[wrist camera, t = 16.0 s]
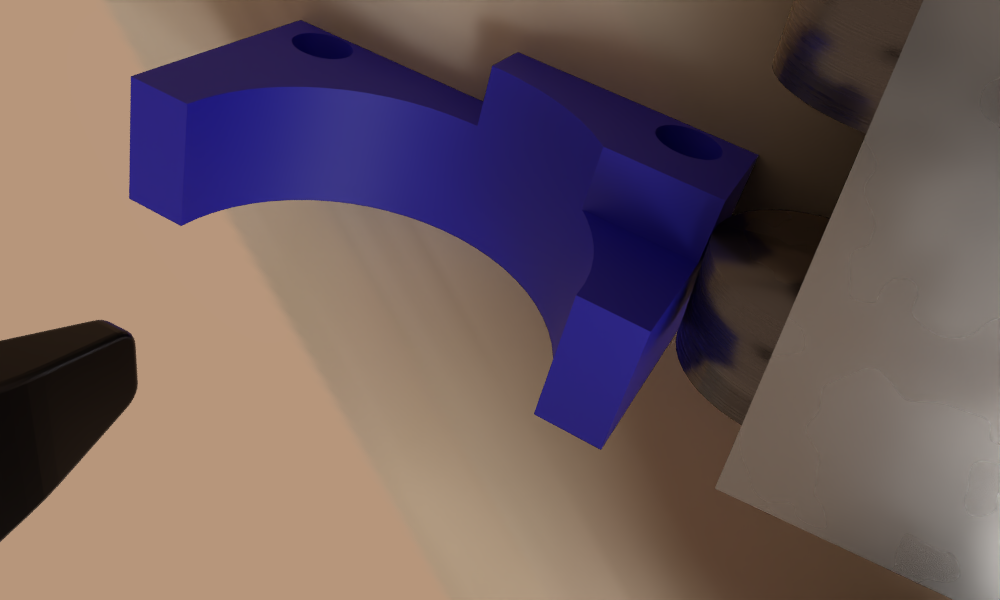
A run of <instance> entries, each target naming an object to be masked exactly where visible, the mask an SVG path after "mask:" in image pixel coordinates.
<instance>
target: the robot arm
mask: <svg viewBox="0 0 1000 600" xmlns="http://www.w3.org/2000/svg"><path fill="white" fill-rule="evenodd" d="M137 384H138V381H137V364H136V347H135V340H134V338H133V336H132V335H131V333H129V332H128V331H126V330H124V329H122V328H120V327H118V326H116V325H114V324H112V323H110V322H108V321H104V320H96V321H91V322H86V323H81V324H77V325H72V326H67V327H62V328H58V329H53V330H48V331H44V332H39V333H35V334H30V335H25V336H21V337H16V338H11V339H7V340H2V341H0V542H1V541H2V540H3V539H4V538H5V537H6V536H7V535H8V534H9V533H10V532H11V531H12V530H13V529H15V528H16V527H17V526H18V525H19V524H20V523H21V522H22V521H23V520H24V519H25V518H26V517H27V516H29V515H30V514H31V513H32V512H33V510H35V509H36V508H37V507H38V506H39V505H40V504H41V503H42V502H43V501H44V500H45V499H46V498H47V497H48V496H49V495H50V494H51V493H52V491H53V490H54V489H55V488H56V487H57V486H58V485H59V484H60V483H61V482H62V481H63V480H64V478H65V477H66V476H67V475H68V474H69V473H70V472H71V470H72V469H73V468H74V467H75V466H76V465H77V464H78V463H79V461H80V460H81V459H82V458H83V457H84V456H85V455H86V453H87V452H88V451H89V450H90V449H91V448H92V447H93V445H94V444H95V443H96V442H97V441H98V440H99V439H100V438H101V436H102V435H103V434H104V433H105V432H106V431H107V430H108V429H109V427H110V426H111V425H112V424H113V423H114V422H115V421H116V419H117V418H118V417H119V416H120V415H121V414H122V413H123V412H124V410H125V409H126V408H127V407H128V406H129V404H130V403H131V401H132V400H133V398H134V395H135V393H136V390H137Z"/></svg>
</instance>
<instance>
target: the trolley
mask: <svg viewBox="0 0 1000 600" xmlns="http://www.w3.org/2000/svg"><path fill="white" fill-rule="evenodd" d="M772 67H773V71H774V73H775V75H776V76H777V78H778V80H779V81H780V82H781V83H782V84H783V85H784V86H785V87H786V88H787V89H788V90H789V91H791V92H792V93H793V94H794V95H795V96H797V97H798V98H800V99H801V100H803V101H804V102H805V103H807V104H808V105H810V106H812V107H813V108H815V109H817V110H818V111H820V112H822V113H824V114H825V115H827V116H829V117H831V118H833V119H835V120H837V121H839V122H841V123H843V124H845V125H848V126H850V127H852V128H854V129H856V130H858V131H861V132H863V133H866V136H865V138H864V141H863V143H862V145H861V148H860V150H859V152H858V155H857V157H856V159H855V162H854V164H853V166H852V169H851V171H850V173H849V176H848V178H847V180H846V183H845V185H844V187H843V190H842V192H841V194H840V197H839V199H838V201H837V204H836V206H835V208H834V211H833V213H832V215H831V218H826V217H822V216H817V215H813V214H807V213H801V212H794V211H785V210H756V211H749V212H744V213H740V214H736V215H734V216H731V217H729V218H727V219H725V220H724V221H722V222H721V223H720V224H719V225H718V226H717V227H716V228H715V229H714V231H713V233H712V235H711V238H710V241H709V244H708V247H707V250H706V252H705V255H704V258H703V261H702V264H701V267H700V270H699V272H698V275H697V278H696V281H695V284H694V287H693V289H692V292H691V295H690V298H689V301H688V304H687V307H686V309H685V312H684V315H683V318H682V321H681V324H680V327H679V329H678V332H677V337H676V351H677V355H678V359H679V361H680V364H681V366H682V368H683V370H684V372H685V373H686V375H687V377H688V378H689V380H690V381H691V382H692V384H693V385H694V386H695V387H696V389H697V390H698V391H699V392H700V393H701V394H702V395H703V396H704V397H705V398H706V399H707V400H708V401H709V402H710V403H712V404H713V405H714V406H715V407H716V408H718V409H719V410H720V411H721V412H723V413H724V414H726V415H727V416H728V417H730V418H731V419H733V420H734V421H736V422H737V423H739V424H741V425H742V426H741V428H740V431H739V433H738V435H737V438H736V440H735V442H734V445H733V447H732V449H731V452H730V454H729V456H728V459H727V461H726V463H725V466H724V468H723V470H722V473H721V475H720V477H719V480H718V482H717V484H716V487H715V489H716V490H719V491H721V492H723V493H725V494H727V495H729V496H732V497H734V498H736V499H738V500H740V501H742V502H744V503H747V504H749V505H751V506H753V507H755V508H757V509H759V510H762V511H764V512H766V513H768V514H770V515H772V516H774V517H777V518H779V519H781V520H783V521H785V522H787V523H790V524H792V525H794V526H796V527H798V528H800V529H802V530H805V531H807V532H809V533H811V534H813V535H815V536H817V537H820V538H822V539H824V540H826V541H828V542H830V543H832V544H835V545H837V546H839V547H841V548H843V549H845V550H847V551H850V552H852V553H854V554H856V555H858V556H860V557H863V558H865V559H867V560H869V561H871V562H873V563H875V564H878V565H880V566H882V567H884V568H886V569H888V570H890V571H893V572H895V573H897V574H899V575H901V576H903V577H905V578H908V579H910V580H912V581H914V582H916V583H918V584H921V585H923V586H925V587H927V588H929V589H931V590H933V591H936V592H938V593H940V594H942V595H944V596H946V597H948V598H951V599H953V600H1000V0H794V2H793V5H792V8H791V10H790V13H789V16H788V19H787V22H786V25H785V28H784V30H783V33H782V36H781V39H780V42H779V45H778V47H777V50H776V53H775V56H774V59H773V64H772Z"/></svg>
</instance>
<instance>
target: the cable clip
mask: <svg viewBox="0 0 1000 600" xmlns="http://www.w3.org/2000/svg"><path fill="white" fill-rule="evenodd" d="M130 113H131V114H130V116H131V117H130V187H129V193H130V194H129V198H130V199H131V200H133V201H135V202H137V203H139V204H141V205H143V206H145V207H146V208H148V209H151V210H152V211H154V212H156V213H158V214H160V215H161V216H163V217H165V218H167V219H169V220H171V221H173V222H175V223H176V224H178V225H180V226H182V225H184V224H186V223H188V222H191V221H193V220H195V219H197V218H199V217H202V216H205V215H208V214H211V213H214V212H217V211H220V210H224V209H228V208H231V207H236V206H241V205H246V204H252V203H260V202H267V201H281V200H321V201H334V202H343V203H351V204H357V205H363V206H368V207H373V208H377V209H382V210H386V211H390V212H393V213H397V214H400V215H404V216H407V217H410V218H413V219H416V220H419V221H422V222H424V223H427V224H429V225H432V226H434V227H436V228H439V229H441V230H443V231H445V232H447V233H449V234H452V235H454V236H456V237H458V238H460V239H461V240H463V241H465V242H466V243H468V244H470V245H472V246H473V247H475V248H477V249H478V250H480V251H481V252H483V253H484V254H486V255H487V256H489V257H490V258H491V259H492V260H494V261H495V262H496V263H498V264H499V265H500V266H501V267H503V268H504V269H505V270H506V271H507V272H508V273H509V274H510V275H511V276H512V277H513V278H514V279H516V281H517V282H518V283H519V284H520V285H521V286H522V287H523V288H524V290H525V291H526V292H527V293H528V295H529V296H530V297H531V299H532V300H533V301H534V303H535V304H536V306H537V308H538V310H539V311H540V313H541V315H542V317H543V319H544V321H545V324H546V326H547V329H548V331H549V335H550V339H551V343H552V351H553V362H552V365H551V367H550V370H549V373H548V376H547V379H546V381H545V384H544V387H543V390H542V393H541V395H540V398H539V401H538V404H537V407H536V410H535V412H534V414H535V415H537V416H538V417H540V418H542V419H544V420H546V421H548V422H550V423H552V424H553V425H555V426H557V427H559V428H561V429H563V430H565V431H567V432H568V433H570V434H572V435H574V436H576V437H578V438H580V439H582V440H583V441H585V442H587V443H589V444H591V445H593V446H595V447H597V448H598V449H600V450H601V449H602V447H603V446H604V444H605V443H606V441H607V440H608V438H609V436H610V435H611V433H612V432H613V430H614V429H615V427H616V426H617V424H618V422H619V421H620V419H621V418H622V416H623V415H624V413H625V412H626V410H627V408H628V407H629V405H630V404H631V402H632V401H633V399H634V398H635V396H636V394H637V393H638V391H639V390H640V388H641V387H642V385H643V383H644V382H645V380H646V379H647V377H648V376H649V374H650V373H651V371H652V369H653V368H654V366H655V365H656V363H657V362H658V360H659V359H660V357H661V355H662V354H663V352H664V351H665V349H666V348H667V346H668V345H669V343H670V341H671V340H672V338H673V337H674V335H675V334H676V332H677V330H678V329H679V327H680V324H681V321H682V318H683V315H684V312H685V309H686V307H687V304H688V301H689V298H690V295H691V292H692V289H693V287H694V284H695V281H696V278H697V275H698V272H699V270H700V267H701V264H702V261H703V258H704V255H705V252H706V250H707V247H708V244H709V241H710V238H711V235H712V233H713V231H714V229H715V228H716V227H717V226H718V225H719V224H720V223H721V222H722V221H724V220H725V219H727V218H729V217H731V216H732V213H733V211H734V209H735V207H736V205H737V202H738V200H739V198H740V196H741V193H742V191H743V189H744V187H745V184H746V182H747V180H748V178H749V175H750V173H751V171H752V169H753V166H754V164H755V162H756V160H757V158H758V155H757V154H755V153H753V152H750V151H748V150H746V149H743V148H741V147H739V146H736V145H734V144H732V143H729V142H727V141H725V140H722V139H720V138H718V137H715V136H713V135H711V134H708V133H706V132H704V131H701V130H699V129H697V128H694V127H692V126H690V125H687V124H685V123H683V122H680V121H678V120H675V119H673V118H671V117H668V116H666V115H664V114H661V113H659V112H657V111H654V110H652V109H650V108H647V107H645V106H643V105H640V104H638V103H636V102H633V101H631V100H629V99H626V98H624V97H622V96H619V95H617V94H615V93H612V92H610V91H608V90H605V89H603V88H601V87H598V86H596V85H594V84H591V83H589V82H587V81H584V80H582V79H580V78H577V77H575V76H573V75H570V74H568V73H566V72H563V71H561V70H559V69H556V68H554V67H551V66H549V65H547V64H544V63H542V62H540V61H537V60H535V59H533V58H530V57H528V56H526V55H523V54H521V53H519V52H517V53H515V54H513V55H512V56H510V57H508V58H506V59H504V60H502V61H500V62H498V63H497V64H495V65H493V66H492V69H491V73H490V77H489V81H488V85H487V89H486V93H485V97H484V101H481V100H478V99H476V98H474V97H472V96H469V95H467V94H465V93H463V92H460V91H458V90H456V89H454V88H452V87H449V86H447V85H445V84H443V83H440V82H438V81H436V80H434V79H431V78H429V77H427V76H425V75H422V74H420V73H418V72H416V71H413V70H411V69H409V68H407V67H405V66H402V65H400V64H398V63H396V62H393V61H391V60H389V59H387V58H384V57H382V56H380V55H378V54H375V53H373V52H371V51H369V50H367V49H364V48H362V47H360V46H358V45H355V44H353V43H351V42H349V41H346V40H344V39H342V38H340V37H337V36H335V35H333V34H331V33H328V32H326V31H324V30H322V29H320V28H317V27H315V26H313V25H311V24H308V23H306V22H304V21H302V20H299V21H296V22H293V23H290V24H287V25H284V26H281V27H278V28H275V29H272V30H269V31H266V32H263V33H260V34H257V35H254V36H251V37H248V38H245V39H242V40H239V41H236V42H233V43H230V44H227V45H224V46H221V47H218V48H215V49H212V50H209V51H206V52H203V53H200V54H197V55H194V56H191V57H188V58H185V59H182V60H179V61H176V62H173V63H170V64H167V65H164V66H161V67H158V68H155V69H152V70H149V71H146V72H143V73H140V74H137V75H134V76H131V112H130Z"/></svg>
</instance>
